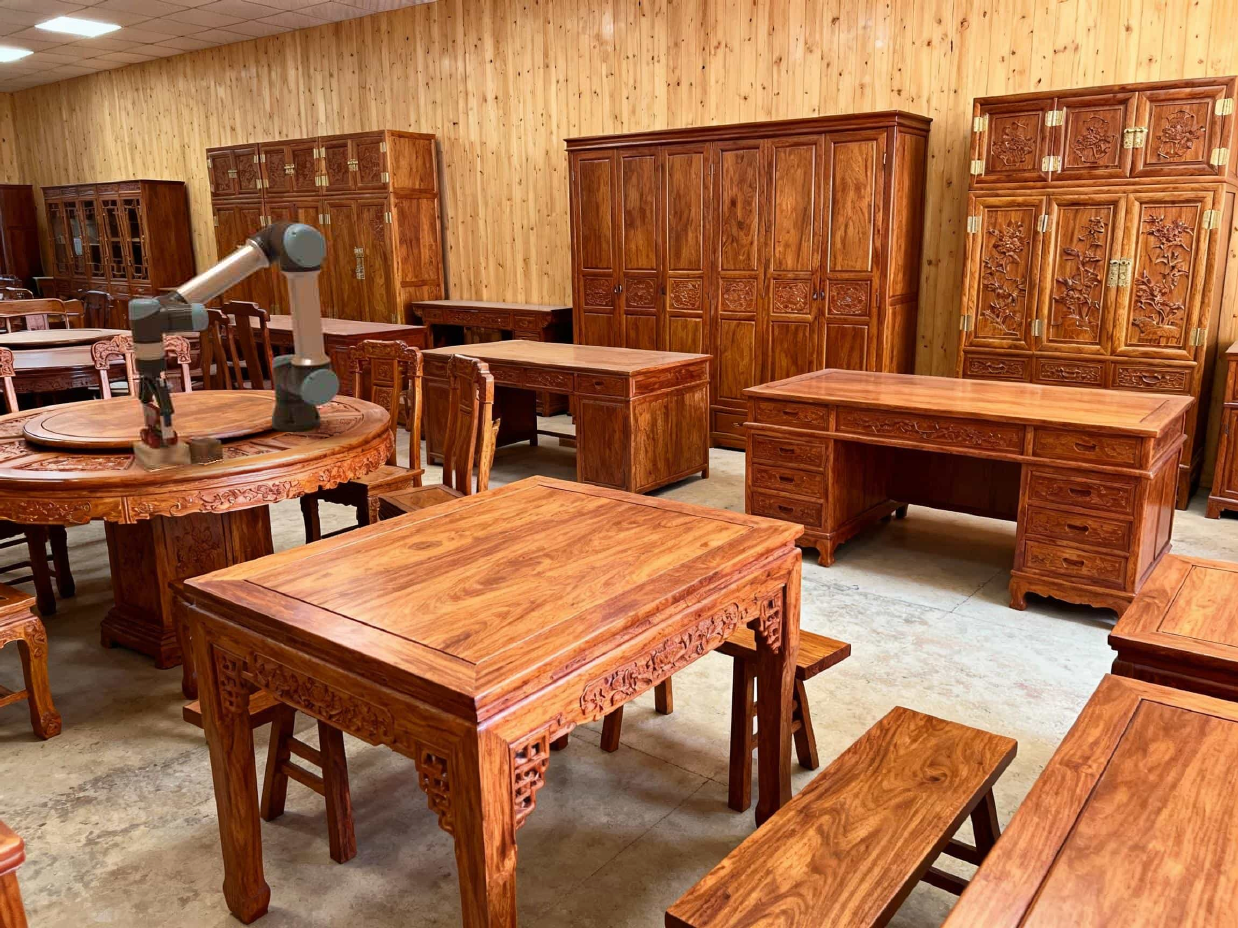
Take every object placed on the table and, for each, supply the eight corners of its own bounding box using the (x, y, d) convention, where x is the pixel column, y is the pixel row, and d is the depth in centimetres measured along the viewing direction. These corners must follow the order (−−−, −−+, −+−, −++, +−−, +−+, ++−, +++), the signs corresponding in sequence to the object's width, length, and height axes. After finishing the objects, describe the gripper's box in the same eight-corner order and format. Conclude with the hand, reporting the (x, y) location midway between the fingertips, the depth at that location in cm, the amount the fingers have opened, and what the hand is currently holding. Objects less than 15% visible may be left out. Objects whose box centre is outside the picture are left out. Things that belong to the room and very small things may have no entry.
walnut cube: (209, 456, 266) (207, 436, 264) (222, 460, 263) (220, 440, 261) (190, 462, 261) (188, 441, 259) (204, 466, 258) (202, 445, 256)
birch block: (176, 455, 266) (173, 436, 264) (191, 465, 259) (188, 445, 257) (136, 463, 259) (133, 443, 257) (150, 473, 251) (147, 452, 249)
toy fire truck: (156, 451, 251) (152, 415, 247) (138, 440, 259) (134, 404, 255) (182, 446, 256) (178, 410, 252) (163, 435, 263) (159, 400, 260)
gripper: (119, 350, 255) (129, 423, 261) (152, 367, 238) (161, 445, 245) (148, 347, 260) (156, 419, 267) (182, 363, 243) (190, 440, 250)
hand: (159, 431), depth 256 cm, fingers open, 13 cm apart
